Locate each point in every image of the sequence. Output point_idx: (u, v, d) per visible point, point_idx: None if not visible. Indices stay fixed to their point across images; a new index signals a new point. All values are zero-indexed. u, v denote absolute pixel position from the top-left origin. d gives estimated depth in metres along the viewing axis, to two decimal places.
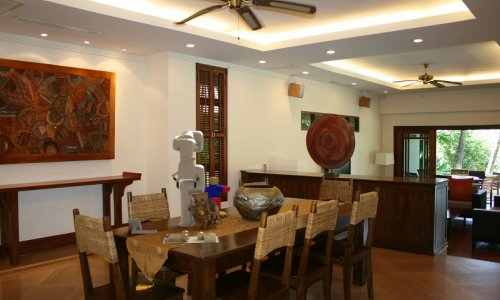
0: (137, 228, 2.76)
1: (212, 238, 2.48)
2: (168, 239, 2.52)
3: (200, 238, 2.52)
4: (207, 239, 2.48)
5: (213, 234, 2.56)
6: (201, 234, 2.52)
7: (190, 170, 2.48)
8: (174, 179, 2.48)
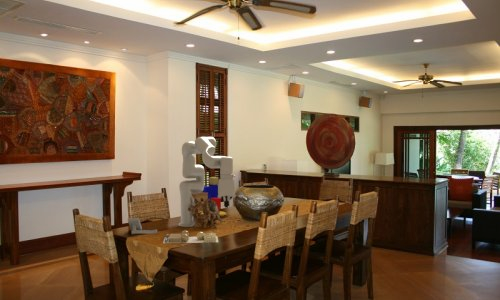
0: (137, 228, 2.76)
1: (212, 238, 2.48)
2: (168, 239, 2.52)
3: (200, 238, 2.52)
4: (207, 239, 2.48)
5: (213, 234, 2.56)
6: (201, 234, 2.52)
7: (230, 187, 2.52)
8: (222, 198, 2.53)
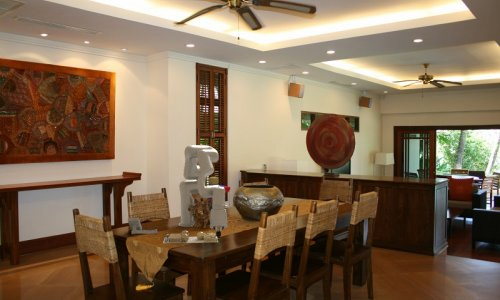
0: (137, 228, 2.76)
1: (212, 238, 2.48)
2: (168, 239, 2.52)
3: (200, 238, 2.52)
4: (207, 239, 2.48)
5: (213, 234, 2.56)
6: (201, 234, 2.52)
7: (222, 217, 2.52)
8: (214, 228, 2.53)
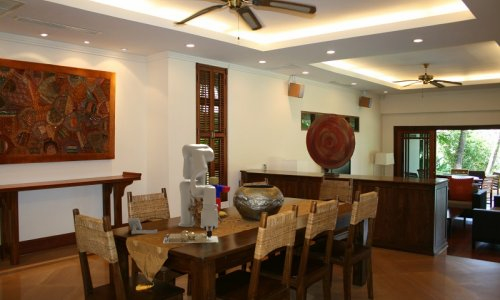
0: (137, 228, 2.76)
1: (203, 238, 2.47)
2: (168, 239, 2.52)
3: (191, 238, 2.51)
4: (197, 239, 2.47)
5: (204, 234, 2.55)
6: (192, 234, 2.51)
7: (213, 217, 2.51)
8: (205, 228, 2.52)
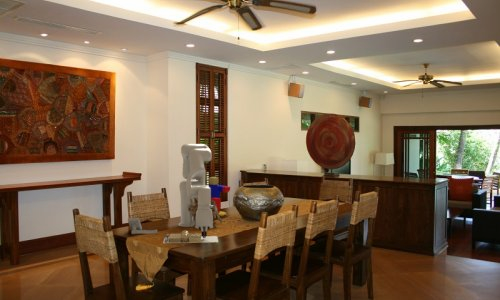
0: (137, 228, 2.76)
1: (197, 238, 2.47)
2: (168, 239, 2.52)
3: None
4: (192, 239, 2.46)
5: (198, 234, 2.54)
6: None
7: (208, 217, 2.51)
8: (199, 228, 2.52)
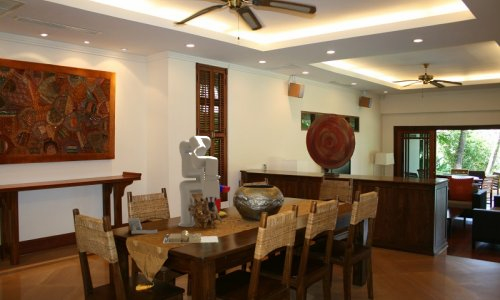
0: (137, 228, 2.76)
1: (197, 238, 2.47)
2: (168, 239, 2.52)
3: None
4: (192, 239, 2.46)
5: (198, 234, 2.54)
6: None
7: (215, 188, 2.52)
8: (206, 199, 2.53)
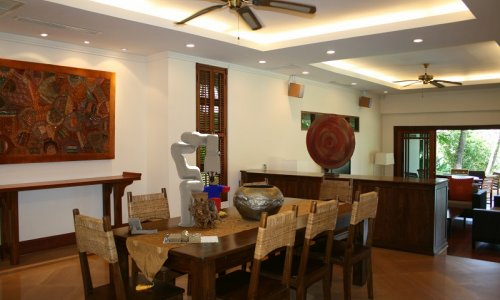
0: (137, 228, 2.76)
1: (197, 238, 2.47)
2: (168, 239, 2.52)
3: None
4: (192, 239, 2.46)
5: (198, 234, 2.54)
6: None
7: (216, 163, 2.67)
8: (208, 173, 2.68)
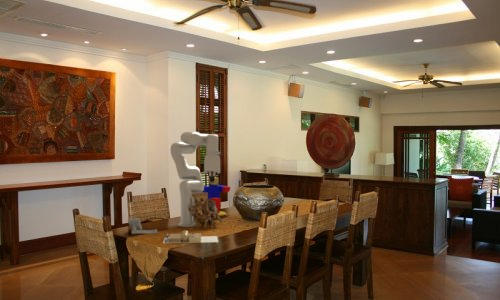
0: (137, 228, 2.76)
1: (197, 238, 2.47)
2: (168, 239, 2.52)
3: None
4: (192, 239, 2.46)
5: (198, 234, 2.54)
6: None
7: (216, 163, 2.67)
8: (208, 173, 2.68)
